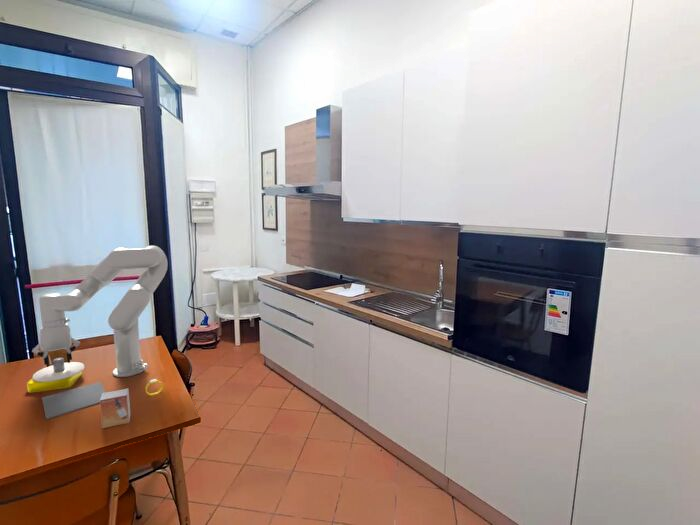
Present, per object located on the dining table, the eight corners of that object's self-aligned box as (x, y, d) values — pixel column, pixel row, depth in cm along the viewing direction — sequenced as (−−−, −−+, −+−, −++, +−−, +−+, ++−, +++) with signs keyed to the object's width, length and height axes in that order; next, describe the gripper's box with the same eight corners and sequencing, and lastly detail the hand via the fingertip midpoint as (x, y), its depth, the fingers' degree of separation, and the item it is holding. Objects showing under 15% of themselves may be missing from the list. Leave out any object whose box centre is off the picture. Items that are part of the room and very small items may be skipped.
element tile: (25, 394, 142) (24, 383, 141) (43, 377, 155) (41, 367, 155) (70, 388, 147) (69, 377, 146) (83, 372, 161) (82, 362, 160)
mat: (110, 400, 137) (109, 398, 137) (46, 419, 124) (45, 418, 124) (100, 382, 151) (100, 381, 151) (42, 398, 138) (41, 397, 138)
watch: (147, 398, 140) (144, 384, 138) (146, 395, 142) (143, 381, 141) (163, 392, 143) (161, 379, 142) (162, 390, 145) (160, 376, 144)
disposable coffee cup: (69, 356, 176) (66, 333, 174) (75, 361, 171) (73, 338, 169) (44, 363, 168) (41, 339, 167) (51, 368, 163) (48, 344, 161)
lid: (87, 373, 150) (85, 360, 149) (33, 386, 139) (31, 372, 138) (81, 360, 162) (80, 348, 162) (32, 371, 151) (30, 358, 150)
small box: (101, 429, 119) (98, 400, 118) (104, 420, 124) (101, 392, 123) (129, 423, 123) (127, 394, 121) (130, 414, 128) (128, 387, 126)
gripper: (80, 317, 155) (84, 356, 158) (27, 324, 145) (32, 365, 148) (79, 321, 149) (84, 361, 152) (24, 329, 139) (30, 372, 142)
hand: (58, 363), depth 150 cm, fingers open, 6 cm apart
